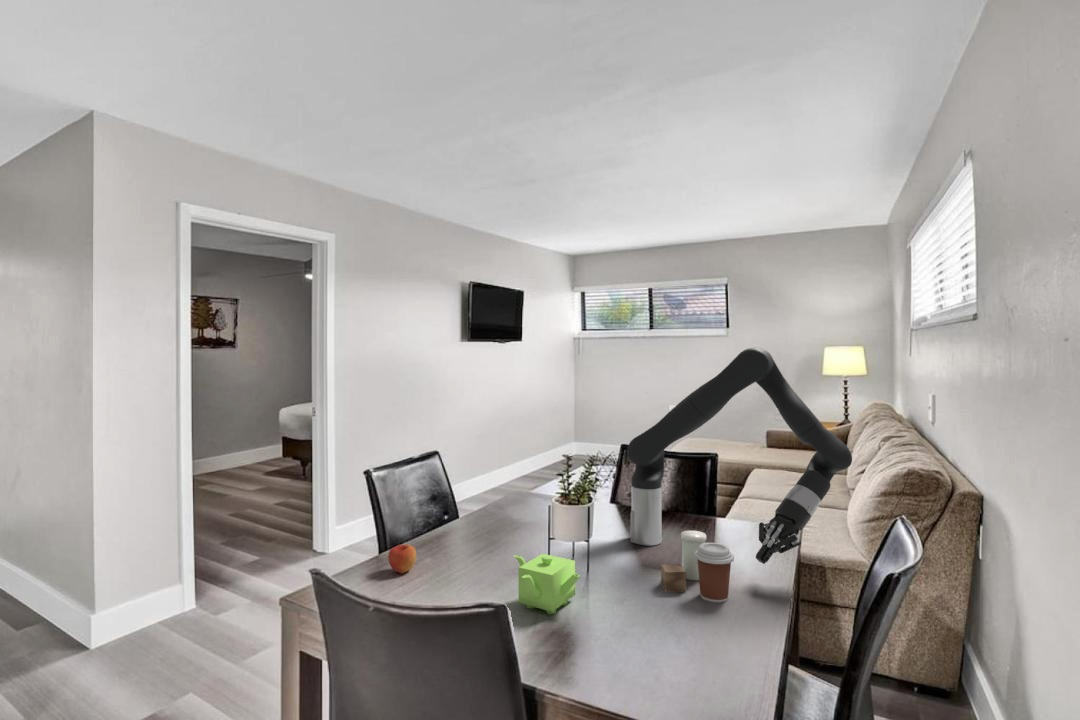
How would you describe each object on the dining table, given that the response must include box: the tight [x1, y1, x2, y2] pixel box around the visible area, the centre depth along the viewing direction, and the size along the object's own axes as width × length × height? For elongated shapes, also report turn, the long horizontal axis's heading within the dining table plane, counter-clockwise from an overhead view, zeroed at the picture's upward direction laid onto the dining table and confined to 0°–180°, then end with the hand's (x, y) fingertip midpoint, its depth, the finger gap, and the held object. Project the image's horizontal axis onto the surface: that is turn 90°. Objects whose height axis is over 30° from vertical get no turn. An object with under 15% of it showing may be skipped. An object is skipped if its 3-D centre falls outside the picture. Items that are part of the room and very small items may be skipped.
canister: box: [680, 530, 707, 581], centre depth 150 cm, size 6×6×11 cm
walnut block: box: [660, 563, 687, 593], centre depth 142 cm, size 5×5×5 cm
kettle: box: [513, 553, 581, 615], centre depth 133 cm, size 15×14×11 cm
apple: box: [388, 543, 417, 575], centre depth 153 cm, size 7×7×8 cm
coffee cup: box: [694, 542, 735, 604], centre depth 137 cm, size 9×9×12 cm
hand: (759, 561), depth 142 cm, fingers closed
